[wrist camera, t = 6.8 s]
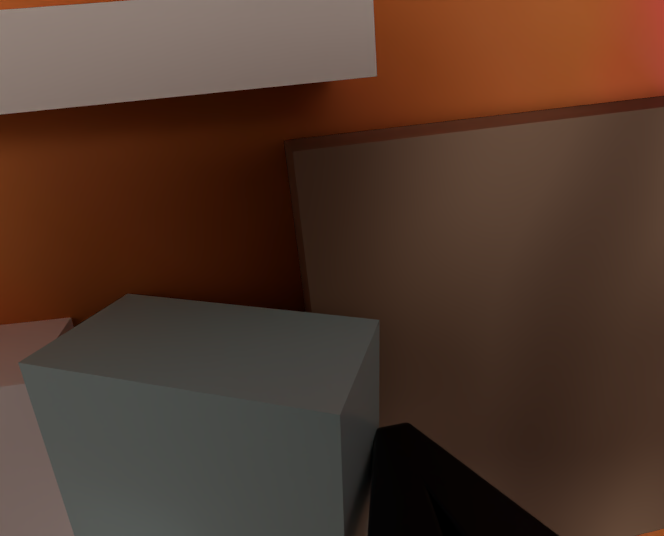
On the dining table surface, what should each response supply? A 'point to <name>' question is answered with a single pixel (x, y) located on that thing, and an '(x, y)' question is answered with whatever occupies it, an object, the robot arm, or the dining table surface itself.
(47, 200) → the dining table surface
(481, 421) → the board
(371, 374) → the sage green block
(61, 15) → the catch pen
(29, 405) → the white tile
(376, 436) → the robot arm
